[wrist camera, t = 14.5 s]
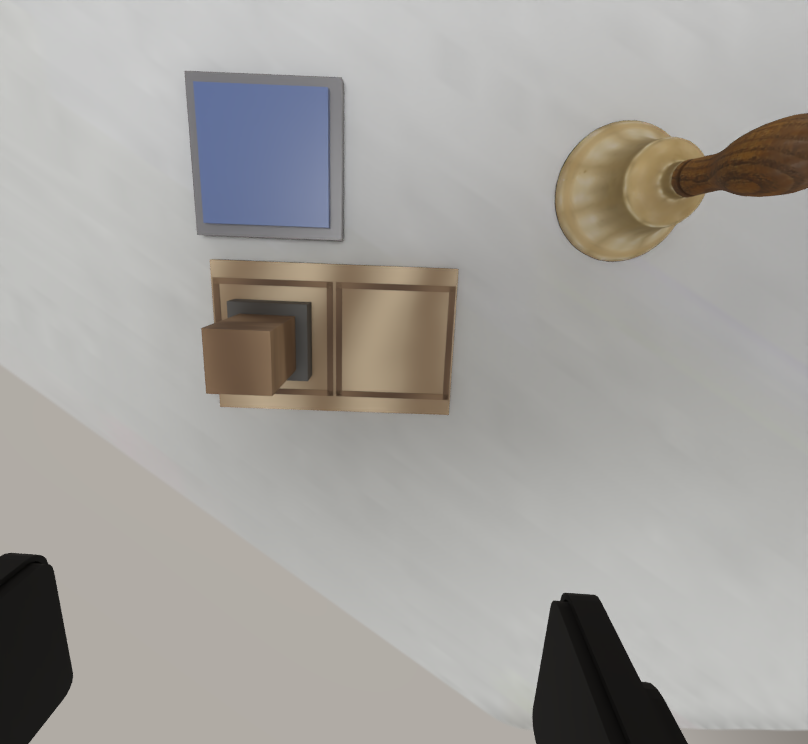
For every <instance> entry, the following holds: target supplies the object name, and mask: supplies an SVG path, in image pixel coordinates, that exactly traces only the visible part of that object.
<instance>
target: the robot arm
mask: <svg viewBox="0 0 808 744" xmlns="http://www.w3.org/2000/svg"><path fill="white" fill-rule="evenodd" d="M72 679H73V672H72V666H71V660H70V656H69V650H68V644H67V639H66V634H65V629H64V623H63V618H62V612H61V607H60V601H59V596H58V591H57V585H56V580H55V575H54V570H53V568H52V566H51V565H49V564H48V562H47V560H46V558H45V557H43V556H41V555H33V554H19V553H8V554H4V555H2V556H0V744H28V743H29V742H30V741H31V740H32V738H33V737H34V736H35V734H36V733H37V732H38V731H39V729H40V728H41V727H42V726H43V724H44V723H45V722H46V721H47V719H48V718H49V717H50V715H51V714H52V713H53V712H54V711H55V709H56V708H57V707H58V705H59V704H60V703H61V702H62V700H63V699H64V697H65V696H66V695H67V693H68V691H69V689H70V686H71V683H72ZM533 730H534V735H535V740H536V744H688V743H687V741H686V740H685V738H684V736H683V734H682V732H681V730H680V728H679V726H678V725H677V723H676V721H675V719H674V717H673V715H672V713H671V711H670V710H669V708H668V706H667V704H666V702H665V700H664V699H663V697H662V695H661V694H660V692H659V691H658V689H657V688H656V687H654V686H653V685H652V684H651V683H647V682H641V680H640V678H639V676H638V674H637V672H636V670H635V668H634V666H633V664H632V663H631V661H630V659H629V657H628V655H627V653H626V651H625V649H624V647H623V645H622V643H621V641H620V639H619V637H618V635H617V633H616V631H615V629H614V627H613V625H612V623H611V621H610V619H609V617H608V615H607V613H606V611H605V609H604V607H603V605H602V603H601V601H600V599H599V598H598V597H597V596H596V595H589V594H575V593H563V595H562V596H561V600H560V601H553V602H552V604H551V608H550V613H549V619H548V625H547V631H546V636H545V642H544V648H543V654H542V659H541V665H540V671H539V677H538V682H537V688H536V694H535V700H534V705H533Z"/></svg>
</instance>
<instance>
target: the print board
mask: <svg viewBox="0 0 808 744" xmlns="http://www.w3.org/2000/svg"><path fill="white" fill-rule="evenodd" d="M210 270H211V284H212V298H213V312H214V323H217V322H219V321H222V320H224V319H227V318H228V317H227V301H229V300H232V299H253V300H276V301H298V302H312V376H311V378H310V379H309V380H308V381H287V380H286V382H285V383H284V384H283V385H282V386H281V387H280V388H279V389H278V390H277V392H276V393H275V394H274V395H273V396H255V395H231V394H219V395H220V407H240V408H269V409H297V410H325V411H354V412H382V413H411V414H439V415H449V402H450V387H451V373H452V358H453V343H454V328H455V313H456V298H457V283H458V269H448V268H422V267H396V266H371V265H345V264H319V263H293V262H267V261H241V260H215V259H212V260H210Z"/></svg>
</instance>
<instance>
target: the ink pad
mask: <svg viewBox="0 0 808 744" xmlns="http://www.w3.org/2000/svg"><path fill="white" fill-rule="evenodd" d="M185 84H186V96H187V109H188V122H189V135H190V148H191V161H192V173H193V186H194V199H195V212H196V225H197V235H211V236H236V237H262V238H287V239H313V240H339V241H343V235H344V83H343V80H342V78H341V77H318V76H295V75H271V74H248V73H225V72H201V71H185Z"/></svg>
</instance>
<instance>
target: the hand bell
mask: <svg viewBox="0 0 808 744" xmlns="http://www.w3.org/2000/svg"><path fill="white" fill-rule="evenodd" d="M806 188H808V113H806V114H798V115H793V116H789V117H785V118H782V119H779V120H776V121H773V122H771V123H768V124H765V125H763V126H760V127H758V128H756V129H754V130H752V131H750V132H748V133H746V134H745V135H743V136H741V137H740V138H738V139H737V140H735V141H734V142H732V143H731V144H730V145H729V146H728V147H727V148H725V149H724V150H723V151H721V152H720V153H717V154H714V155H709V156H704V155H703V153H702V152H701V150H700V149H699V148H698V147H697V146H696V145H695V144H693V143H692V142H690V141H688V140H685V139H683V138H678V137H671V136H670V135H669V134H667V133H666V132H665V131H663V130H662V129H660V128H658V127H656V126H654V125H652V124H649V123H646V122H642V121H629V120H628V121H619V122H614V123H611V124H608V125H605V126H603V127H601V128H599V129H597V130H595V131H593V132H592V133H590V134H589V135H588V136H587V137H585V138H584V139H583V140H582V141H581V142H580V143H579V144H578V145H577V146H576V147H575V148H574V150H573V151H572V152H571V154H570V155H569V156H568V158H567V160H566V162H565V164H564V165H563V167H562V170H561V172H560V175H559V179H558V182H557V187H556V196H555V205H556V213H557V217H558V221H559V224H560V227H561V229H562V231H563V232H564V234H565V236H566V237H567V239H568V240H569V241H570V243H571V244H572V245H573V246H574V247H576V248H577V249H578V250H579V251H581V252H582V253H584V254H586V255H588V256H590V257H592V258H595V259H598V260H603V261H624V260H628V259H632V258H635V257H638V256H640V255H643V254H645V253H646V252H648V251H650V250H651V249H653V248H654V247H656V246H657V245H658V244H659V243H660V242H662V241H663V240H664V239H665V238H666V237H667V236H668V234H669V233H670V232H671V231H672V229H673V228H674V227H675V225H676V224H677V223H679V222H681V221H683V220H684V219H686V218H687V217H688V216H689V215H690V214H692V213H693V212H694V211H695V209H696V208H697V207H698V206H699V204H700V203H701V201H702V199H703V197H704V195H705V193H708V192H713V191H717V190H723V191H727V192H730V193H733V194H736V195H741V196H753V197H763V196H775V195H783V194H789V193H794V192H797V191H800V190H803V189H806Z"/></svg>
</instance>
